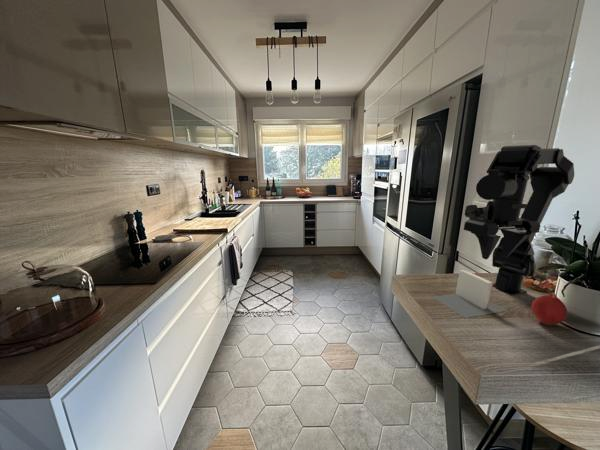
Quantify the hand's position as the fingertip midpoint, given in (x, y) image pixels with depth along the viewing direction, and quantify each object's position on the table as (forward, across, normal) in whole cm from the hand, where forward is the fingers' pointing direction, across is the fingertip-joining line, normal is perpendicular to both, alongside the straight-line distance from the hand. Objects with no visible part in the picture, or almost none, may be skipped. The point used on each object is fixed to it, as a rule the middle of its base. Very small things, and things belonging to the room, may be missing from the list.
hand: (494, 257), depth 66 cm
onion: (+12, -2, +12) cm, 17 cm away
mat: (+12, +8, +1) cm, 14 cm away
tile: (+12, +6, 0) cm, 13 cm away
